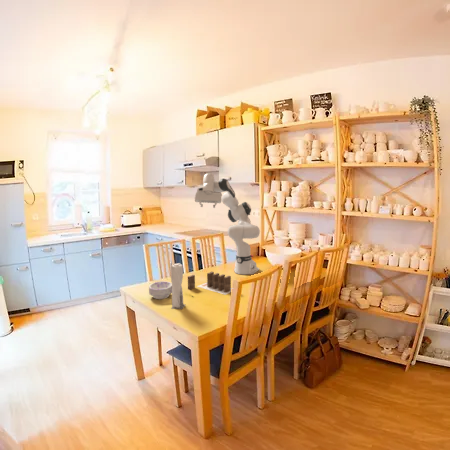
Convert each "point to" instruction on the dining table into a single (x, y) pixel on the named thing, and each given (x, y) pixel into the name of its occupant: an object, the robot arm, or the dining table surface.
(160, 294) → the paper bowls
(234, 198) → the robot arm
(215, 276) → the domino
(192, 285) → the domino
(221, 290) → the board
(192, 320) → the dining table surface
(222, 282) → the domino
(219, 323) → the dining table surface
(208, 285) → the domino
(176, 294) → the skyscraper
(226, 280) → the domino
